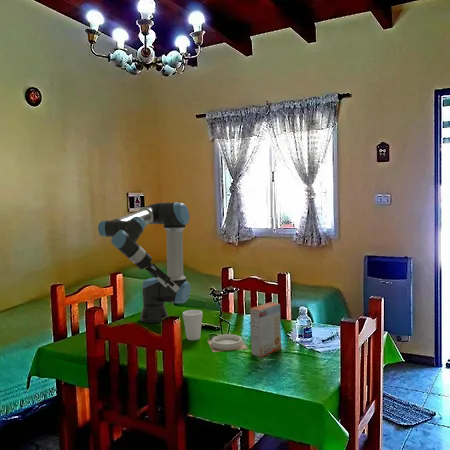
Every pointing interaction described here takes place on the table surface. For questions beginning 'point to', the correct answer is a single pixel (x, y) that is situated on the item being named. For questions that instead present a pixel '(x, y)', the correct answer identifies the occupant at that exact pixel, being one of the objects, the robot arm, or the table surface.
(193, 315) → the foam cup
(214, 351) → the cork mat
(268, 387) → the table surface
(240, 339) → the bowl
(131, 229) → the robot arm
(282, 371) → the table surface
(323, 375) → the table surface
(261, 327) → the cracker box
